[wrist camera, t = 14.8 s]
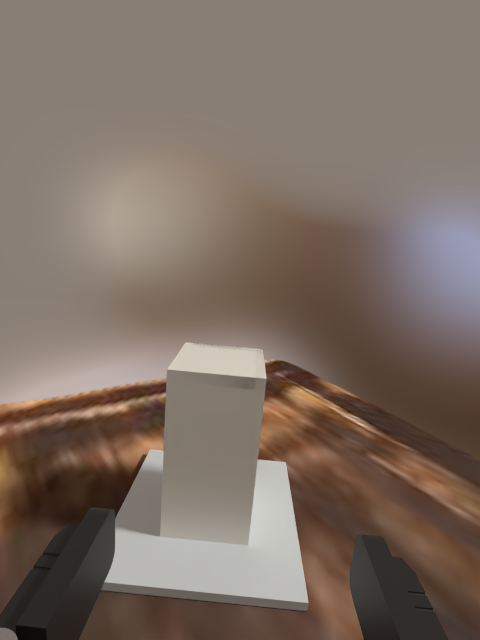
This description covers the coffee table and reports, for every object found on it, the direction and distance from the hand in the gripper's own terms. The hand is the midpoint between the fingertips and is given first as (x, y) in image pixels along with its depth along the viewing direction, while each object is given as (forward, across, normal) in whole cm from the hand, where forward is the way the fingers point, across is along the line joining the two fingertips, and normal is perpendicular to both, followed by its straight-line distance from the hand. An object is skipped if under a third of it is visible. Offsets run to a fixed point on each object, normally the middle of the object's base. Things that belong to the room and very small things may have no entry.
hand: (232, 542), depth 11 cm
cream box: (+13, +2, +10) cm, 16 cm away
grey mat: (+13, +2, +11) cm, 17 cm away
